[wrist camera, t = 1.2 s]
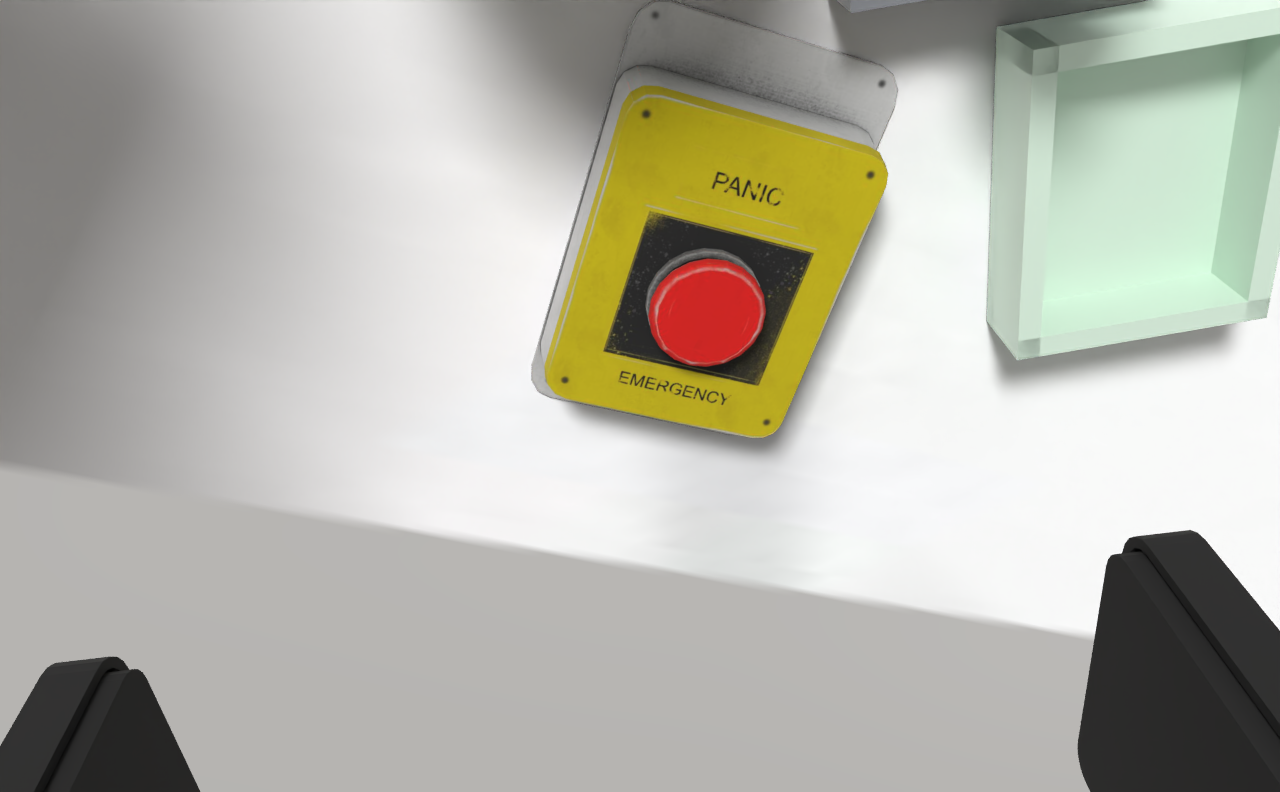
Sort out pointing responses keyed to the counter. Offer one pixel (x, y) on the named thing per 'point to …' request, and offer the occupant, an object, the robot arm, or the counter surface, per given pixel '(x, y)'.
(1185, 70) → the tray
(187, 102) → the counter surface
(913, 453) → the counter surface
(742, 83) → the emergency button
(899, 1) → the block
